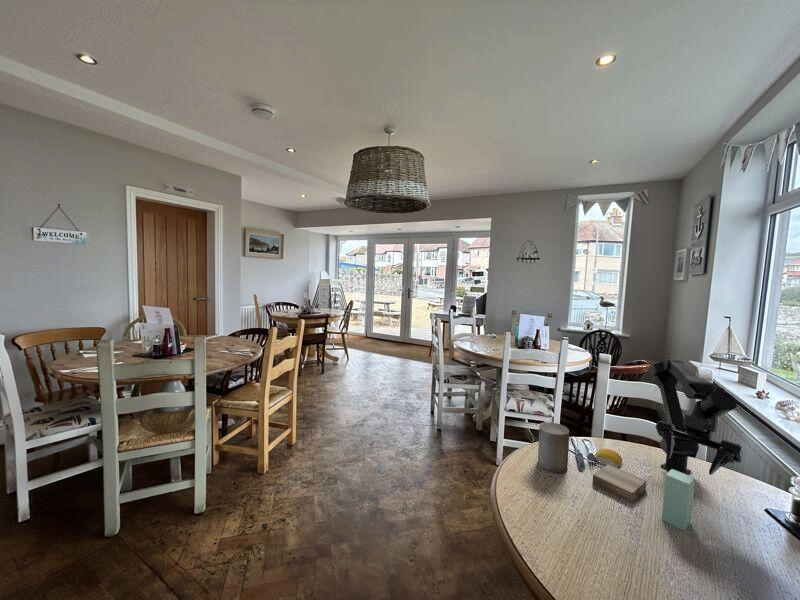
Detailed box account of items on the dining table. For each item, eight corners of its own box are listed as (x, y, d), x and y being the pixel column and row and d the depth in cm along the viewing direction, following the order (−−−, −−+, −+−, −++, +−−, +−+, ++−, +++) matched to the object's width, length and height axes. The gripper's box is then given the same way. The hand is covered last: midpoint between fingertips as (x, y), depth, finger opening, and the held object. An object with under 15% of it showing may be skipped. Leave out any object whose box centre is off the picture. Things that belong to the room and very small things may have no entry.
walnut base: (607, 472, 113) (608, 464, 113) (645, 489, 105) (646, 480, 104) (592, 483, 107) (593, 474, 107) (631, 502, 98) (632, 493, 98)
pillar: (667, 512, 94) (671, 468, 94) (690, 523, 90) (694, 477, 89) (661, 519, 92) (665, 474, 91) (684, 531, 88) (689, 484, 87)
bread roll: (623, 461, 122) (624, 450, 121) (618, 470, 115) (619, 459, 115) (598, 452, 127) (598, 442, 127) (591, 461, 121) (592, 450, 120)
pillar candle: (570, 465, 117) (573, 424, 116) (562, 477, 110) (565, 433, 109) (542, 455, 124) (544, 416, 123) (533, 466, 116) (535, 424, 115)
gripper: (660, 395, 104) (643, 438, 98) (745, 416, 89) (731, 468, 83) (667, 414, 109) (651, 456, 103) (748, 437, 94) (735, 488, 88)
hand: (688, 465), depth 94 cm, fingers open, 9 cm apart
